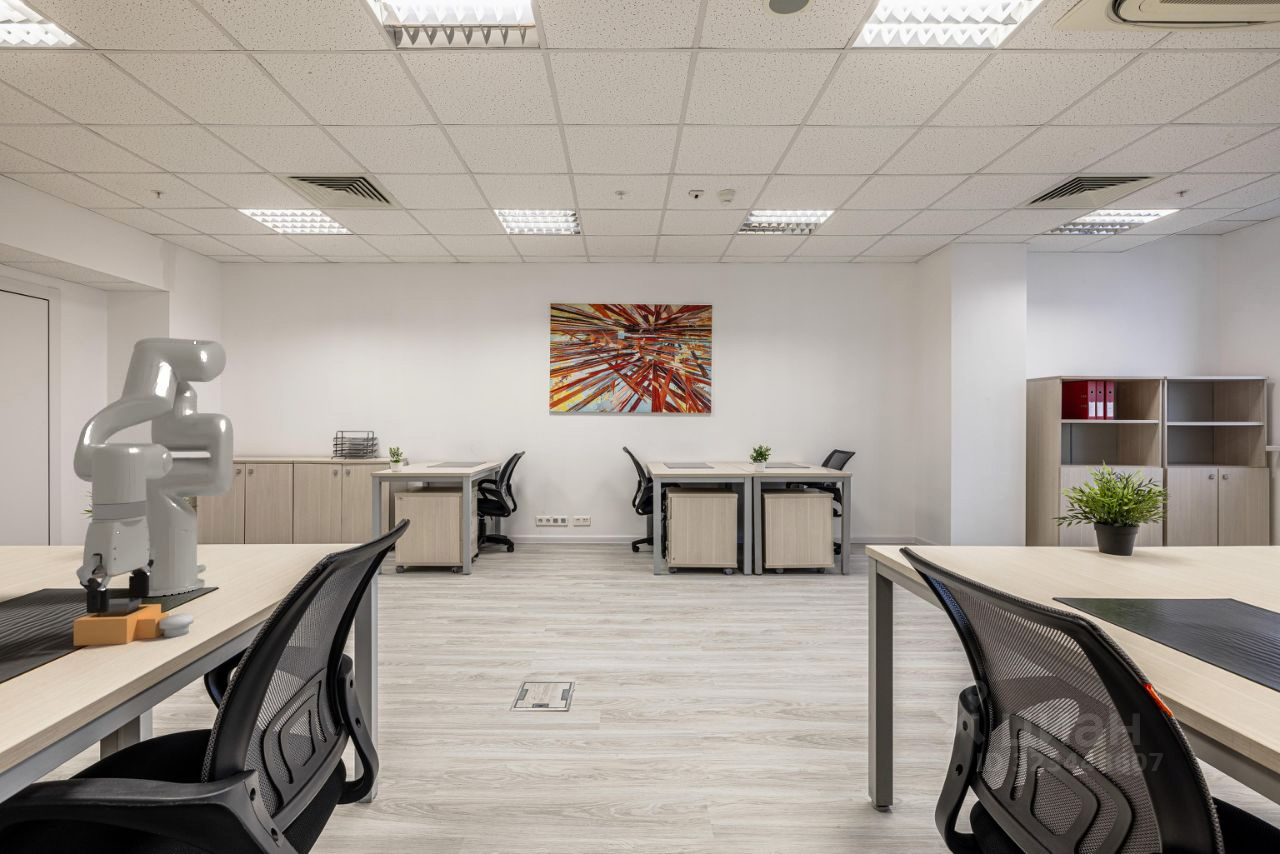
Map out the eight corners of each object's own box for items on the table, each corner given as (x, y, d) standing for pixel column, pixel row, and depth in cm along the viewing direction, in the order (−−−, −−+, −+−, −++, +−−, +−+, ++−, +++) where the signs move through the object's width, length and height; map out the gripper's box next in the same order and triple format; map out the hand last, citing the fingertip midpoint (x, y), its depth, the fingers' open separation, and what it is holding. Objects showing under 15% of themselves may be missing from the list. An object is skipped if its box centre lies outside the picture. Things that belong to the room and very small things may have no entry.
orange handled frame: (73, 645, 102) (73, 620, 102) (112, 628, 111) (112, 605, 111) (175, 641, 104) (175, 616, 104) (205, 625, 113) (205, 602, 113)
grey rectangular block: (110, 633, 108) (110, 599, 108) (141, 632, 109) (141, 598, 109) (97, 640, 105) (97, 604, 105) (128, 638, 106) (128, 603, 106)
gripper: (132, 506, 115) (132, 591, 115) (55, 519, 98) (55, 620, 98) (173, 505, 116) (173, 590, 116) (104, 518, 99) (104, 618, 99)
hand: (119, 604), depth 107 cm, fingers open, 9 cm apart
